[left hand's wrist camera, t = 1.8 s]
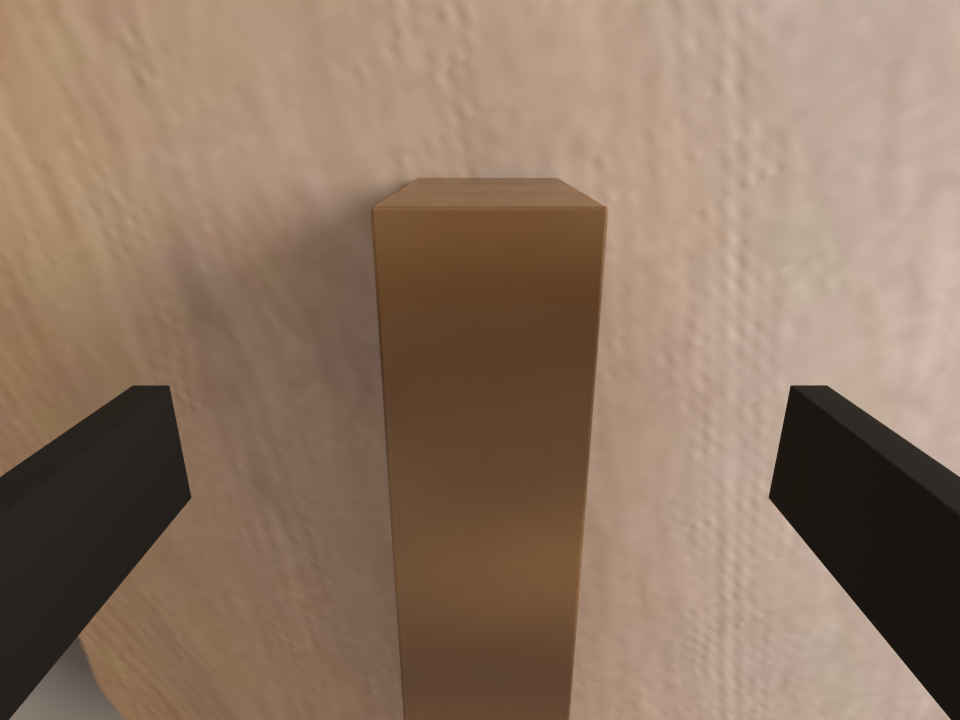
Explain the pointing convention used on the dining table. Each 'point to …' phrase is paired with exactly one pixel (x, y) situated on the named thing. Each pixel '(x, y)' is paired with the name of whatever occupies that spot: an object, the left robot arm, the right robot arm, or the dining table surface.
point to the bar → (488, 435)
